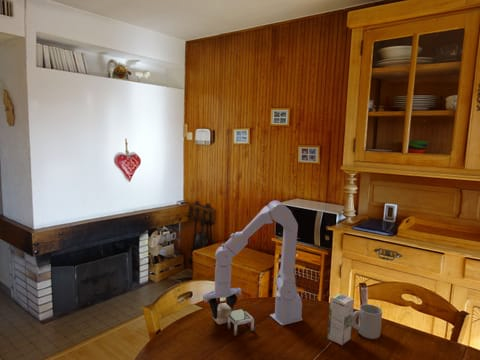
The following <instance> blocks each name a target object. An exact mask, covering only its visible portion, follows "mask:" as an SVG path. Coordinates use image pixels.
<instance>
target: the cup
mask: <svg viewBox="0 0 480 360" xmlns="http://www.w3.org/2000/svg"><path fill="white" fill-rule="evenodd" d="M357 317H358V324H357V321H356V320H357ZM382 317H383V310H382V308H380V307H379V306H378V305H373V304H367V303H365V304H361V305H360V306H359V310H355V311H353V318H352V328H353V329H356V330H358V333H359V334H360V335H361V336H362V337H363V338H366V339H371V340H375V339H379V338H380V337H381V331H382V330H381V329H382V321H383V320H382V319H383V318H382Z"/></svg>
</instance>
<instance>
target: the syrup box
mask: <svg viewBox="0 0 480 360" xmlns="http://www.w3.org/2000/svg"><path fill="white" fill-rule="evenodd" d="M354 303H355V299H354V298H352V297H350V296H348V295H345V294H342V293H337V294H336V295H334V296H332V297H331V298H330V300H329V309H328V311H329V313H328V321H327V323H328V324H327V337H326V338H327V339H328V340H330V341H332V342H334V343H337V344H338V345H341V346H344V345H345V344H346V343H347V342H349V341H350V340H351V339H352V337H351V336H352V328H353V326H352V318H353V313H354Z"/></svg>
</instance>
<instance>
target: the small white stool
mask: <svg viewBox="0 0 480 360" xmlns="http://www.w3.org/2000/svg"><path fill="white" fill-rule="evenodd" d="M247 317H248V318H249V319H247ZM231 323H232V324H233V327H234V328H233V336H237V335H238V325H247V323H250V332H254V330H255V329H254V328H255V318H254V317H253V316H252V315H251V314H250V313H249V312H248V311H244V320H241V321H237V322H236V321H235V320H234V319H233V318H232V317H231V316H230V315H228V322H227V329H231Z"/></svg>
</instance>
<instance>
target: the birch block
mask: <svg viewBox="0 0 480 360" xmlns="http://www.w3.org/2000/svg"><path fill="white" fill-rule="evenodd" d="M228 315H230V316H231V308H230V307H229V306H228V305H227V302H222V303H219V304H218V309H217V319H214V317H213V316H212V319H213V320H214V321H215V323H216V324H218V325H222V324H226V323H227V324H228Z"/></svg>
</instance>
